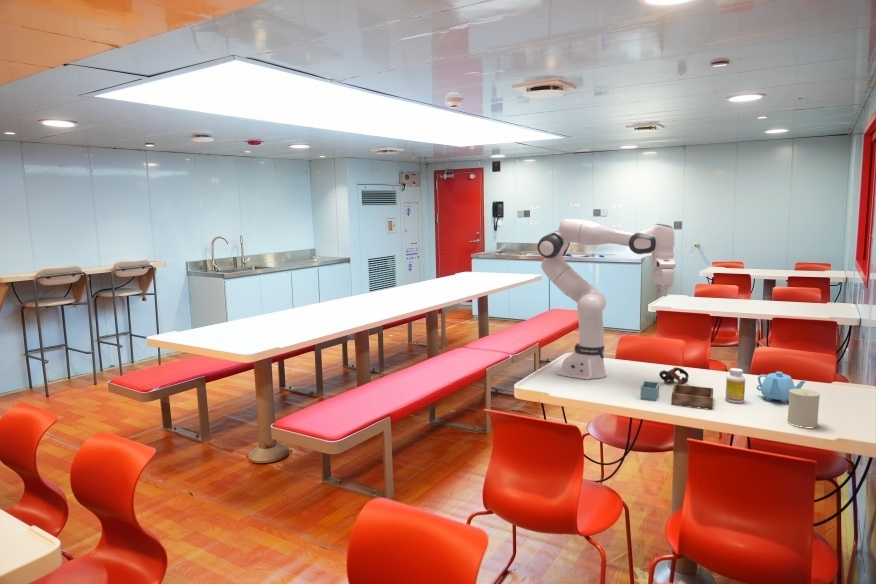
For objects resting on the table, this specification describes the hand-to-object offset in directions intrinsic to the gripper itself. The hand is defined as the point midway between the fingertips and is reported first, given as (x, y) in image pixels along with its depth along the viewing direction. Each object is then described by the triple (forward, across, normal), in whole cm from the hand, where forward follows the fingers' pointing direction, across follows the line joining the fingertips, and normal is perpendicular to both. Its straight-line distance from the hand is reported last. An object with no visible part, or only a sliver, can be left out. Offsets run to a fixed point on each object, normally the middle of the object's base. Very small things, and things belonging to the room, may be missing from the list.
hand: (661, 294), depth 246 cm
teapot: (+40, +16, +43) cm, 61 cm away
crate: (+40, +22, +8) cm, 46 cm away
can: (+40, +44, +38) cm, 71 cm away
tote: (+40, +16, -7) cm, 44 cm away
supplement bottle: (+40, +19, +25) cm, 51 cm away
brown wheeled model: (+40, -4, +8) cm, 41 cm away
